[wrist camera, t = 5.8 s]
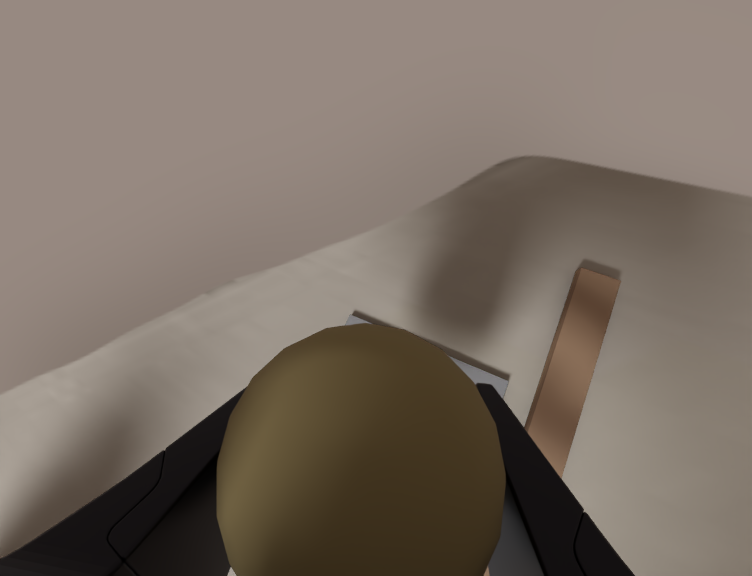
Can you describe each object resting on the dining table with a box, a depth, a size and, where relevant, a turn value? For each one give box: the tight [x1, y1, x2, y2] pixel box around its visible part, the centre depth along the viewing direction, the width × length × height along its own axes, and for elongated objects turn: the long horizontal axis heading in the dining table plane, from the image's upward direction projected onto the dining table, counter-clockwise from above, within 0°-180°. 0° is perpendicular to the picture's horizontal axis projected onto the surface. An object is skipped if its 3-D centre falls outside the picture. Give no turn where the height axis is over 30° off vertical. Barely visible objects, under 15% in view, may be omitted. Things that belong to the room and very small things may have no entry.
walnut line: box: [484, 268, 621, 576], centre depth 20 cm, size 20×2×1 cm, turn 157°
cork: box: [217, 323, 506, 576], centre depth 10 cm, size 6×6×11 cm
